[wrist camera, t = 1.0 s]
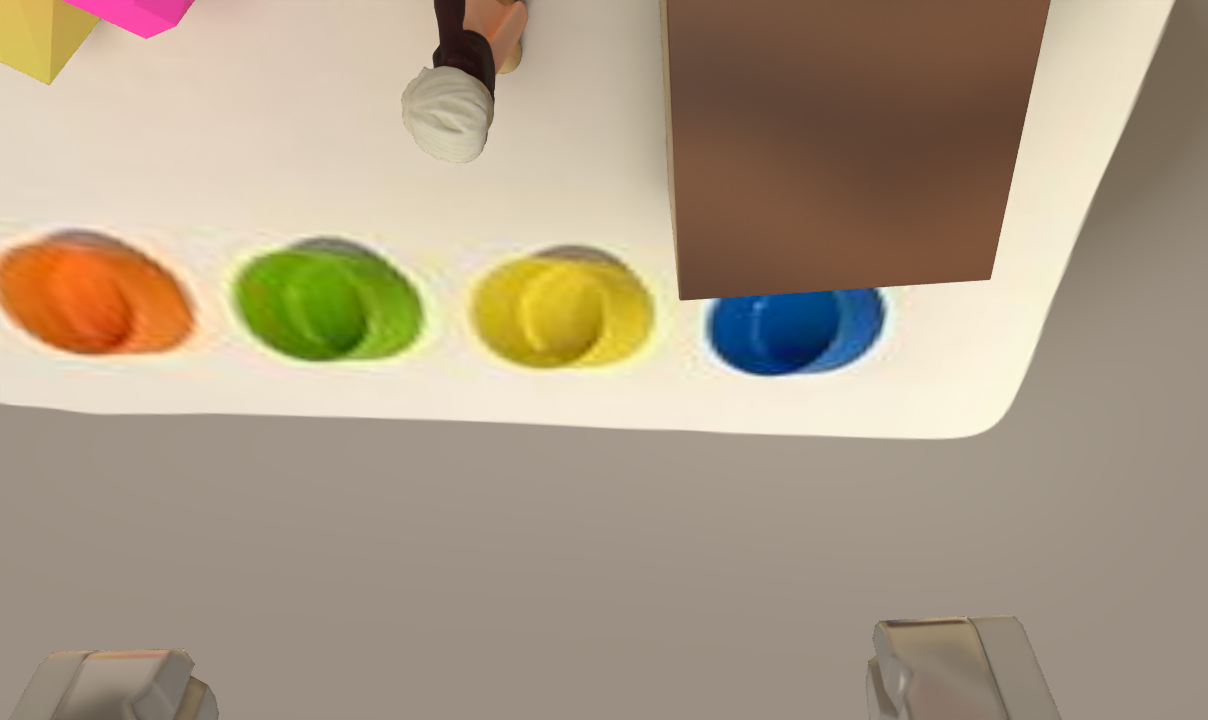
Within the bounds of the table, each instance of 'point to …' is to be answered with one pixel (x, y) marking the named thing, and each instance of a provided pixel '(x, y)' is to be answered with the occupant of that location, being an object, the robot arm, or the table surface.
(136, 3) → the toy
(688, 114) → the chest lid
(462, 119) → the grandmother figurine
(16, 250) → the table surface
